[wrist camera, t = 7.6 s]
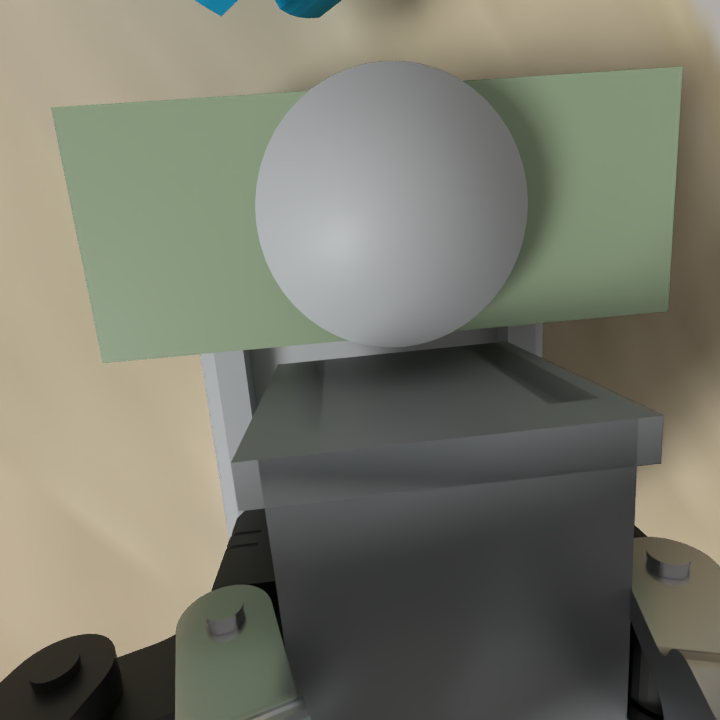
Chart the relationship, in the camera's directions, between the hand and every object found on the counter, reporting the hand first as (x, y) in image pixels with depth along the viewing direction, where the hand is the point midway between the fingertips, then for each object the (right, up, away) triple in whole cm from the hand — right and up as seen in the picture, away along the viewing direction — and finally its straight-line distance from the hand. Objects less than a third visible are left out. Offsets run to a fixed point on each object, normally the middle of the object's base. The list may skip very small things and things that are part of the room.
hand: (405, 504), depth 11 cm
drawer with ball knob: (-1, +2, +3) cm, 4 cm away
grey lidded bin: (0, 0, 0) cm, 0 cm away
